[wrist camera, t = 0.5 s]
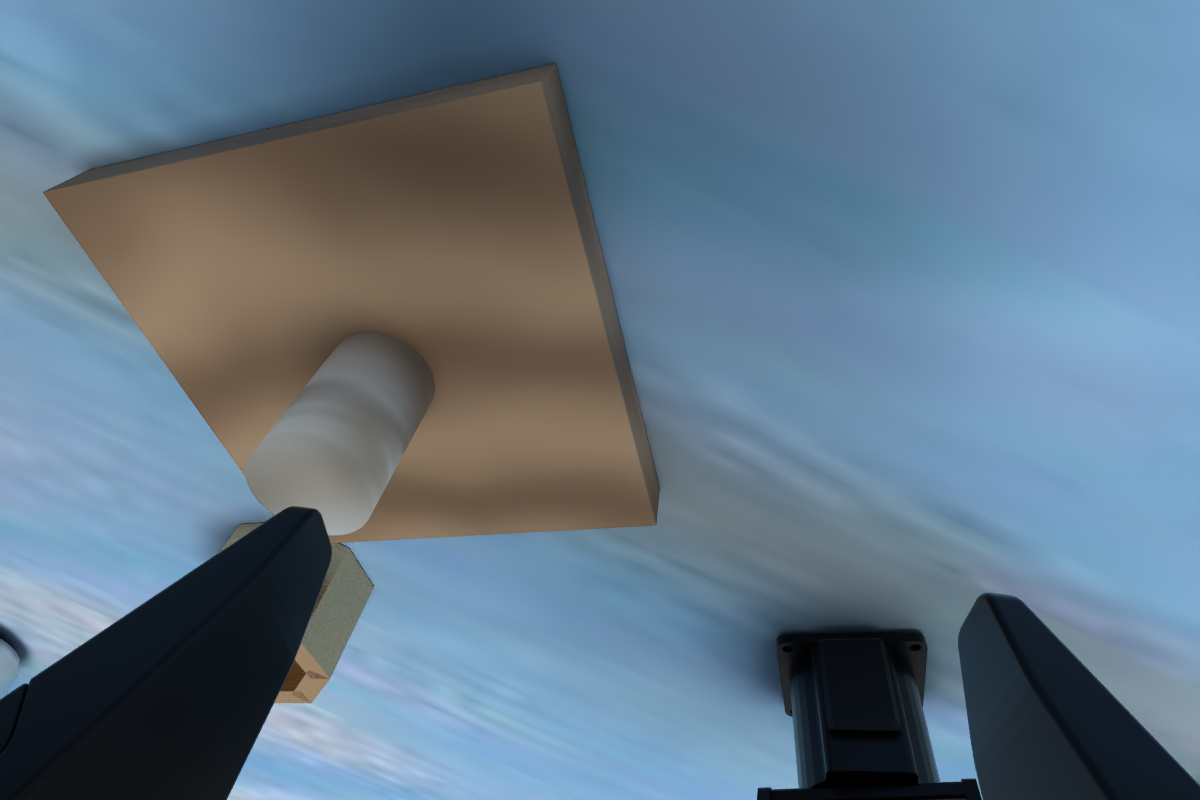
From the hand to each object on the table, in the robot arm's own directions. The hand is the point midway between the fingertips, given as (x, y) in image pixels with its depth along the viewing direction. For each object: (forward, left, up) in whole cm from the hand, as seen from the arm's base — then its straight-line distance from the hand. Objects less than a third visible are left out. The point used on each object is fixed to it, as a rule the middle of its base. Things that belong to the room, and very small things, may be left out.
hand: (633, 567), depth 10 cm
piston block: (-4, +11, -14) cm, 18 cm away
